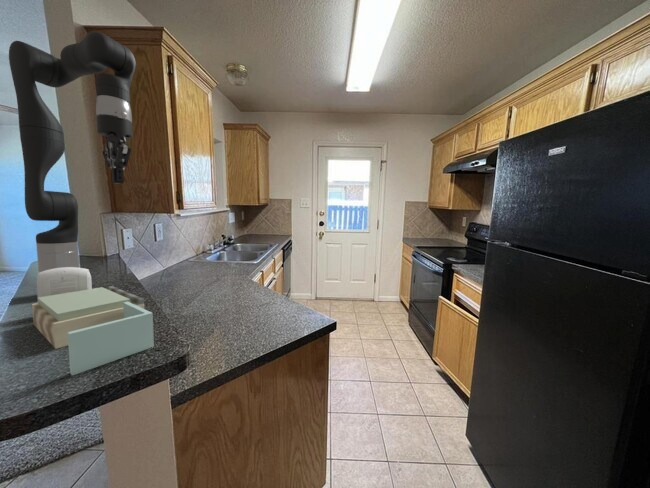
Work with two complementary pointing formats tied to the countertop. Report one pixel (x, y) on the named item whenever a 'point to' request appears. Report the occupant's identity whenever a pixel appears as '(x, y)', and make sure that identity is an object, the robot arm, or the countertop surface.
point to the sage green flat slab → (81, 303)
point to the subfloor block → (77, 320)
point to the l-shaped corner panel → (111, 339)
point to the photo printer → (63, 281)
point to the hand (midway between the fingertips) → (118, 183)
